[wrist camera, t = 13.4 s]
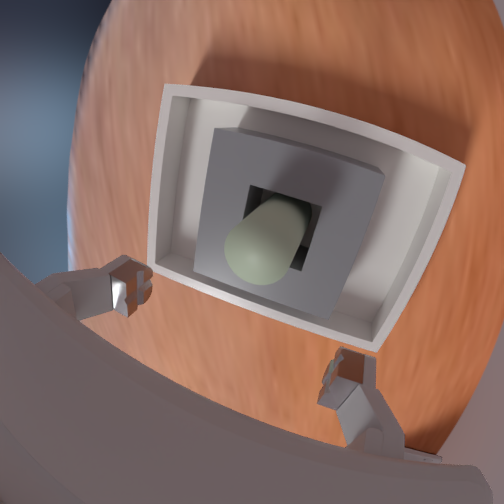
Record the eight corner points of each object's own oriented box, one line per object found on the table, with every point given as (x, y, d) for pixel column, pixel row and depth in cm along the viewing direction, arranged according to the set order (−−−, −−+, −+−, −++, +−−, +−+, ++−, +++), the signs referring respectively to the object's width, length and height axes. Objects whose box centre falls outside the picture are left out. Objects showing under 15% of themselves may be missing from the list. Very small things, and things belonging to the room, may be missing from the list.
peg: (317, 197, 23) (299, 234, 15) (304, 240, 25) (280, 294, 17) (271, 183, 24) (230, 212, 16) (261, 225, 26) (219, 271, 18)
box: (448, 159, 19) (474, 168, 14) (375, 326, 27) (377, 363, 22) (188, 87, 23) (153, 82, 18) (167, 252, 32) (138, 275, 27)
